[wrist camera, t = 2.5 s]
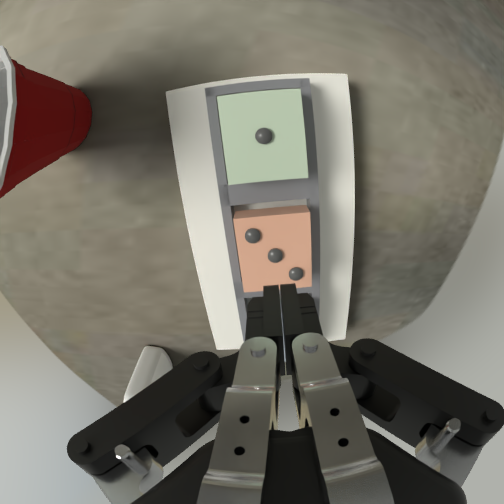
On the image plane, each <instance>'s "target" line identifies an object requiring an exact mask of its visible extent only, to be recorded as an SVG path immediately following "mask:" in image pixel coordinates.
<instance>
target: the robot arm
mask: <svg viewBox="0 0 504 504" xmlns="http://www.w3.org/2000/svg"><path fill="white" fill-rule="evenodd" d="M280 294H281V305H280ZM280 294H279V285H268V286H263V296H262V297H253V298H252V299H251V300H250V302H249V303H248V307H247V320H246V333H245V342H244V343H243V344H242V345H241V347H240V350H239V351H238V352H236V353H235V354H233V355H230V356H227V357H223V358H219V357H218V356H217V355H216V354H214V353H212V352H207V351H203V352H197V353H194V354H192V355H191V356H189V357H188V358H187V359H185V360H184V361H182V362H181V363H180V364H178V365H177V366H176V367H174V368H173V369H171V370H170V371H169V372H167V373H166V374H164V375H163V376H162V377H160V378H159V379H157V380H156V381H155V382H153V383H152V384H150V385H149V386H147V387H146V388H145V389H143V390H142V391H140V392H139V393H137V394H136V395H134V396H133V397H132V398H130V399H129V400H127V401H126V402H124V403H123V404H121V405H120V406H118V407H117V408H115V409H114V410H113V411H111V412H109V413H108V414H106V415H105V416H103V417H102V418H100V419H98V420H97V421H95V422H94V423H92V424H91V425H89V426H88V427H86V428H85V429H83V430H81V431H80V432H78V433H77V434H75V435H74V436H73V437H72V438H71V439H70V440H69V442H68V445H67V453H68V456H69V457H70V459H71V460H72V461H73V462H74V463H76V464H77V465H78V466H80V467H81V468H82V469H83V470H84V471H85V472H86V473H88V474H89V475H91V476H92V477H93V478H94V480H95V481H96V483H97V484H98V486H99V487H100V489H101V490H102V492H103V493H104V494H105V496H106V497H107V498H108V500H109V501H110V502H111V504H467V500H466V496H465V494H464V491H463V490H462V488H461V486H462V485H463V483H464V481H465V480H466V478H467V476H468V474H469V473H470V471H471V469H472V467H473V465H474V464H475V461H476V460H477V458H478V456H479V454H480V452H481V450H482V448H483V446H484V445H485V444H486V443H487V442H488V441H489V440H490V439H491V438H492V437H493V436H494V435H495V434H496V433H497V432H498V431H499V430H500V429H501V428H502V426H503V425H504V409H503V407H502V406H501V405H500V404H499V403H498V402H496V401H494V400H492V399H490V398H488V397H486V396H484V395H482V394H480V393H478V392H476V391H474V390H472V389H470V388H468V387H466V386H464V385H462V384H460V383H458V382H456V381H454V380H452V379H450V378H448V377H446V376H444V375H442V374H440V373H438V372H436V371H434V370H432V369H431V368H428V367H427V366H425V365H423V364H421V363H419V362H417V361H415V360H413V359H411V358H409V357H407V356H405V355H404V354H402V353H400V352H398V351H396V350H394V349H392V348H390V347H388V346H386V345H384V344H383V343H381V342H379V341H377V340H374V339H360V340H358V341H356V342H355V343H353V344H352V346H351V348H350V347H341V346H336V345H333V344H331V343H329V342H328V340H327V339H326V338H325V337H324V336H323V333H322V329H321V325H320V321H319V317H318V313H317V310H316V307H315V302H314V298H312V297H311V296H310V295H309V294H308V293H298V294H297V289H296V284H295V283H291V284H280ZM281 309H282V316H281ZM282 323H283V327H282ZM283 335H284V341H283ZM284 346H285V359H286V371H287V375H292V382H293V394H294V400H295V405H296V411H297V416H298V422H299V429H298V430H295V431H290V432H288V431H280V430H278V415H279V398H280V386H281V376H282V375H285V360H284ZM361 414H362V415H364V416H365V417H367V418H368V419H370V420H371V421H373V422H374V423H376V424H377V425H379V426H380V427H382V428H384V429H385V430H387V431H388V432H390V433H391V434H393V435H395V436H396V437H398V438H400V439H401V440H403V441H404V442H406V443H408V444H409V445H411V446H413V447H415V448H416V449H415V455H416V458H415V457H414V456H412V455H411V454H409V453H407V452H406V451H404V450H403V449H401V448H400V447H399V446H397V445H396V444H394V443H393V442H391V441H390V440H388V439H387V438H385V437H384V436H382V435H381V434H379V433H377V432H376V431H374V430H371V429H368V428H366V427H365V424H364V421H363V418H362V415H361ZM218 422H219V424H218V429H217V433H216V437H215V439H214V440H212V441H210V442H208V443H206V444H205V445H203V446H202V447H201V448H199V449H198V450H197V451H196V452H195V453H194V454H192V455H191V456H190V457H189V458H188V459H187V460H186V461H184V462H183V463H182V464H181V465H180V466H178V467H177V468H176V469H175V470H174V471H173V472H171V473H170V474H169V475H168V476H166V477H165V478H164V479H163V480H162V478H163V467H164V466H165V465H166V464H168V463H169V462H170V461H171V460H173V459H174V458H175V457H177V456H178V455H179V454H180V453H182V452H183V451H184V450H185V449H187V448H188V447H189V446H190V445H191V444H193V443H194V442H195V441H197V440H198V439H199V438H200V437H201V436H202V435H204V434H205V433H206V432H207V431H208V430H210V429H211V428H212V427H213V426H214V425H215V424H216V423H218Z"/></svg>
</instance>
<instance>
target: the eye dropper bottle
mask: <svg viewBox="0 0 504 504" xmlns="http://www.w3.org/2000/svg"><path fill="white" fill-rule="evenodd" d="M171 369H173V366H172V362H171V360H170V358H169V356H168V354H167V353H166V352H165V351H164V349H162V348H160V347H153V346H145V347H144V349H143V351H142V353H141V356H140V358H139V360H138V363H137V365H136V367H135V370H134V372H133V375H132V377H131V379H130V382H129V384H128V387H127V390H126V392H125V395H124V402H126V401H127V400H129V399H130V398H132V397H133V396H134V395H136V394H137V393H139V392H140V391H142V390H143V389H145V388H146V387H147V386H149V385H150V384H152V383H153V382H155V381H156V380H157V379H159V378H160V377H162V376H163V375H164V374H166V373H167V372H169V371H170V370H171Z"/></svg>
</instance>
